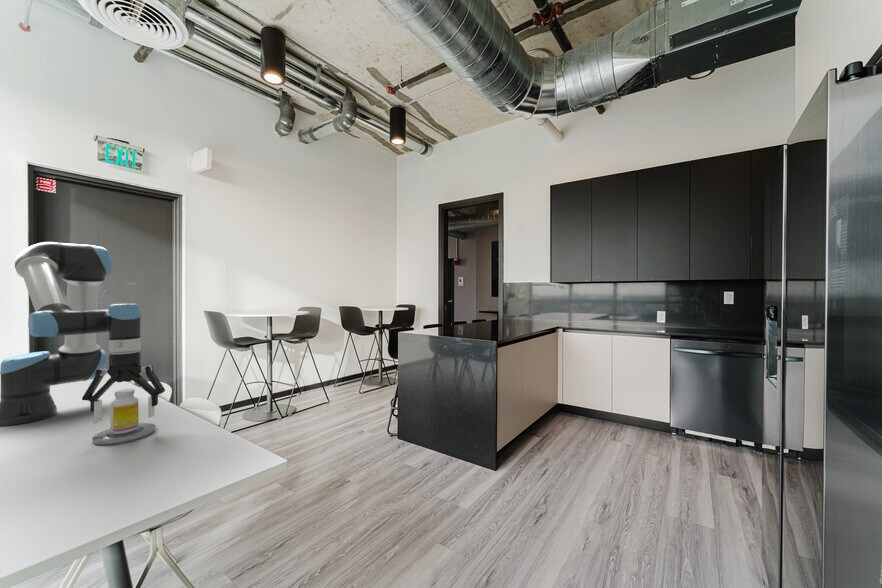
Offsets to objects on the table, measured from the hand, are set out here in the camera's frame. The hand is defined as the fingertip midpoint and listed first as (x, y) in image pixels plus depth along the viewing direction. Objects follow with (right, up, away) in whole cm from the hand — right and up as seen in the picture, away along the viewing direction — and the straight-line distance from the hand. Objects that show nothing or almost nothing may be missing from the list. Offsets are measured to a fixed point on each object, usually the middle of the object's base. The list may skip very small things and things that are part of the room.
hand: (125, 418), depth 112 cm
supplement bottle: (0, -4, 0) cm, 4 cm away
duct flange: (0, -5, 0) cm, 5 cm away
